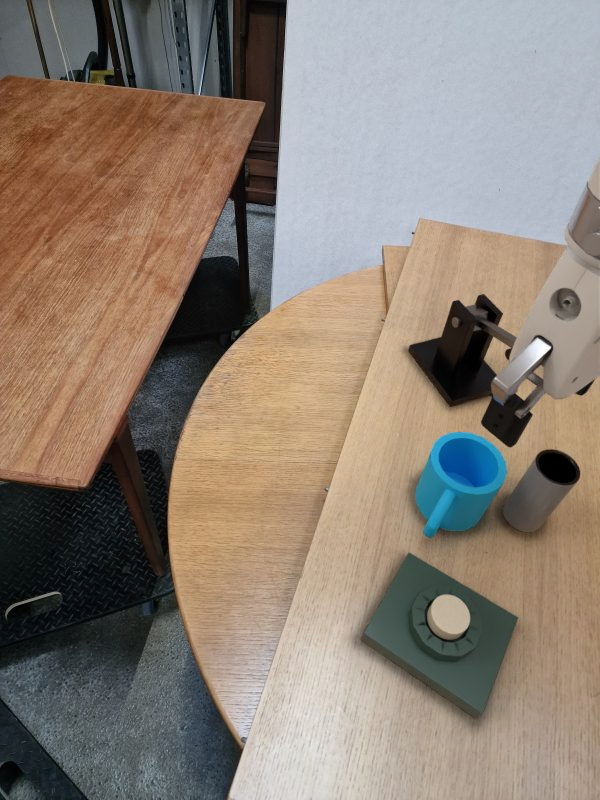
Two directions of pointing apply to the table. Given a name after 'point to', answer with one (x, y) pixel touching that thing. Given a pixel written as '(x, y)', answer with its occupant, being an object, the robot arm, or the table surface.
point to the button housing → (432, 655)
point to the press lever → (491, 328)
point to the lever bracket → (459, 354)
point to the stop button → (448, 617)
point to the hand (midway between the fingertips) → (534, 408)
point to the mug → (459, 482)
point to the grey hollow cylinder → (541, 490)
